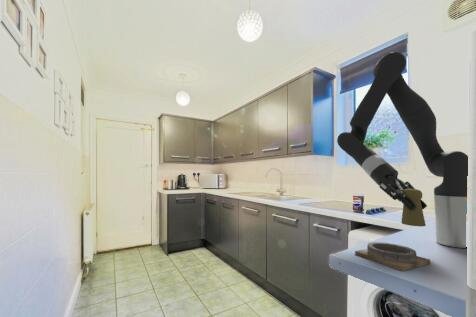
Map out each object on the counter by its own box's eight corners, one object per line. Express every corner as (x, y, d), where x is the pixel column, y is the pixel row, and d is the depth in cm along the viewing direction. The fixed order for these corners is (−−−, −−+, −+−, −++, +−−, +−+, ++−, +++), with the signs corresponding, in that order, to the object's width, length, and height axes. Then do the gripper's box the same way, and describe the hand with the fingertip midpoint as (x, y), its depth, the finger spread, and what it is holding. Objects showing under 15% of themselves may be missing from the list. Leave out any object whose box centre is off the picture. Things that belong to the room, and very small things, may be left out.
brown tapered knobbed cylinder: (402, 221, 75) (400, 188, 76) (425, 224, 71) (423, 188, 72) (400, 224, 70) (398, 188, 71) (425, 227, 67) (423, 189, 67)
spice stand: (382, 249, 73) (381, 239, 74) (430, 263, 62) (429, 252, 62) (355, 254, 68) (354, 244, 68) (402, 271, 56) (402, 258, 56)
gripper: (373, 161, 76) (415, 201, 64) (398, 162, 82) (441, 199, 70) (359, 177, 80) (396, 217, 69) (384, 177, 87) (422, 214, 75)
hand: (419, 208), depth 70 cm, fingers closed on brown tapered knobbed cylinder, 5 cm apart
